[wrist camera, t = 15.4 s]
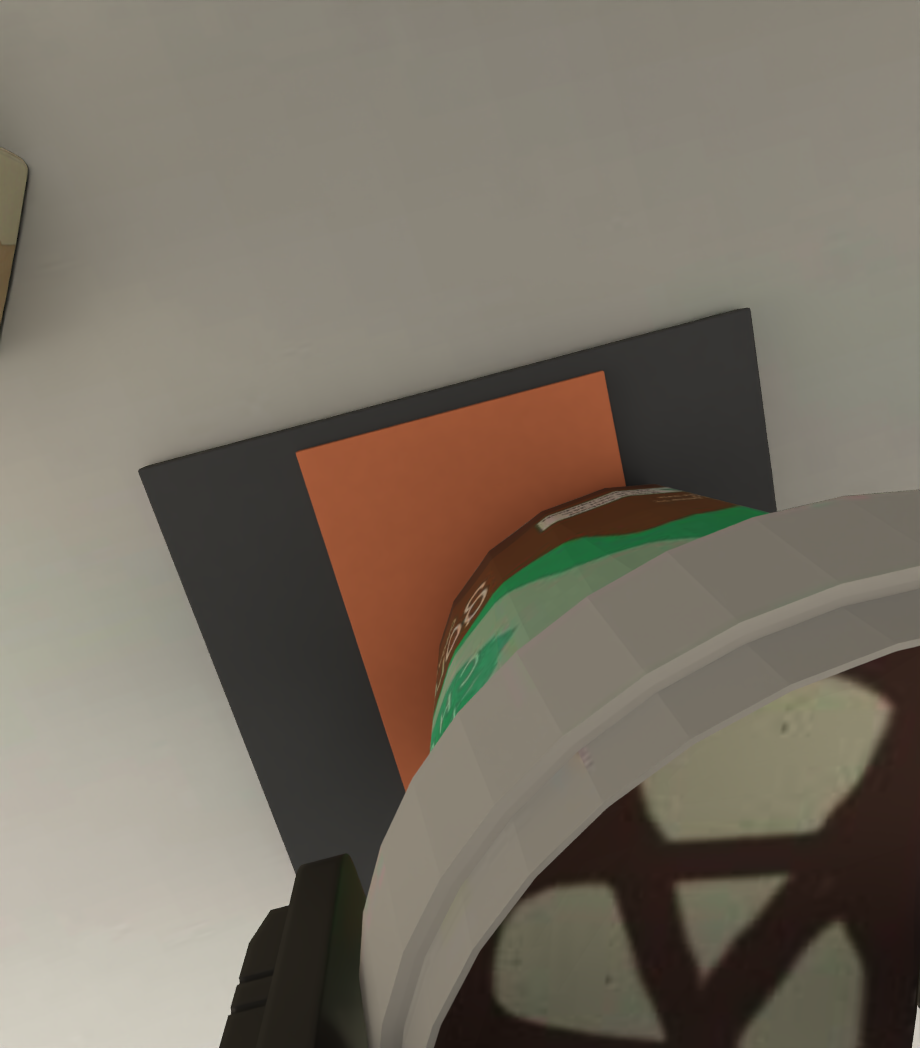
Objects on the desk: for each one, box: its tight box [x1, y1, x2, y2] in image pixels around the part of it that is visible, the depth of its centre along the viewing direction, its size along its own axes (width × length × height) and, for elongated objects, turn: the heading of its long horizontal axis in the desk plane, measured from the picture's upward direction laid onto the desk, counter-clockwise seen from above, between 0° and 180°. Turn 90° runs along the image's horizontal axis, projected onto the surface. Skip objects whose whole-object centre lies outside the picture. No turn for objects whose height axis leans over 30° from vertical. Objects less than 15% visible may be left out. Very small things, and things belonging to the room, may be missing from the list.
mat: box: [138, 308, 777, 899], centre depth 17 cm, size 16×14×1 cm
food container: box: [359, 484, 920, 1048], centre depth 11 cm, size 12×6×10 cm, turn 179°
